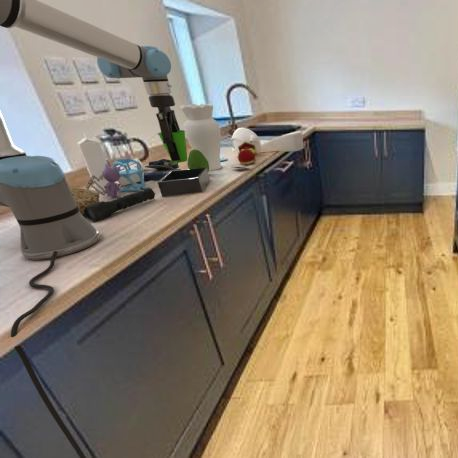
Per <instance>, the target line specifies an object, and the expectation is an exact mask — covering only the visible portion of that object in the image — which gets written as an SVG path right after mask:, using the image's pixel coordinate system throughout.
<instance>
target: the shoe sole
mask: <svg viewBox="0 0 458 458" xmlns="http://www.w3.org/2000/svg"><path fill="white" fill-rule="evenodd" d="M259 140H260V143H261V150H260V151H259V152H258V153H257V154H259V153H270V152H288V153H289V152H290V153H291V152H298V151H299V152H300V151H301V150H303V149H304V148H305V147H304V146H305V145H304V138H303V131H301V130H300V131H299V130H298V131H292V132H289V133H286V134H283V135H280V136H277V137H275V138H272V139H271V140H265V139H264V140H263V139H259Z"/></svg>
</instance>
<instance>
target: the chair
mask: <svg viewBox="0 0 458 458" xmlns="http://www.w3.org/2000/svg"><path fill="white" fill-rule="evenodd" d="M134 159H135V158H119V159H116V160H115V161H114V162H113V163H112V167H113V168H115V167H117V166H118V165H120V166H123V167H125V170H126V171H123V172H120V171H119V169H118V168H117V169H118V172H119V174H120V176H122V177H124V178H126V179H127V180H128V181H129V182H130V183H132V184H129V185H126V186H122V187H121V188H120V187H119V189H120V191H119V192H133V191H135V192H137V191H142V189H146V188H147V185H146V183H145V180H144V179H143V175H142V172H143V170H141V169H140V168H139V162H138V161H136V160H134ZM130 162H135V163H136V164H137V166H136V167H137V169H138V170H134V169H131V168H130V166H129V163H130ZM125 164H127V165H125ZM127 167H128V169H127ZM136 173H137V174H138V176H139V178H140V181H139V182H140V183H137V182H135V183H134V182H133V181H132V180H131V178H130V176H131V175H133V174H136Z"/></svg>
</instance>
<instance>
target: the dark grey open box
mask: <svg viewBox="0 0 458 458" xmlns="http://www.w3.org/2000/svg"><path fill="white" fill-rule="evenodd" d="M210 181H211V179H210V174H209V171H208V170H207V167H205V168H195V169H188V168H186V169H181V170H175V171H170V172H169V173H167V174H166V175H165V176H164V177H163V178H162V179H161V180H157V185H158V188H159V191H160V192H159V193H160V195H161V197H162V198H165V197H173V196H181V195H189V194H190V195H191V194H197V193H198V194H200V193H203V192H204V191H205V189H206V187H207V186H208V185H209V183H210Z"/></svg>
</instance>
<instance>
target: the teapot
mask: <svg viewBox="0 0 458 458" xmlns="http://www.w3.org/2000/svg"><path fill="white" fill-rule="evenodd" d="M260 140H261V139H260V138H259V136H258V134H256V133H255V132H254V131H253V130H252V129H249V128H246V127H238V128H236V130H234V132H233V134H232V136H231V138H230V144H231V146H232V149H231V151H232V152H234V153H235V152H236V153H238V152H239V150H238V147H237V146H239V145H240V144H241V143H243V142H244V141H247V142H250V143H253V144H255V146H256V150H257V154H259V153H260V152H259V151H260V150H261V143H260ZM258 152H259V153H258Z"/></svg>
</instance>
